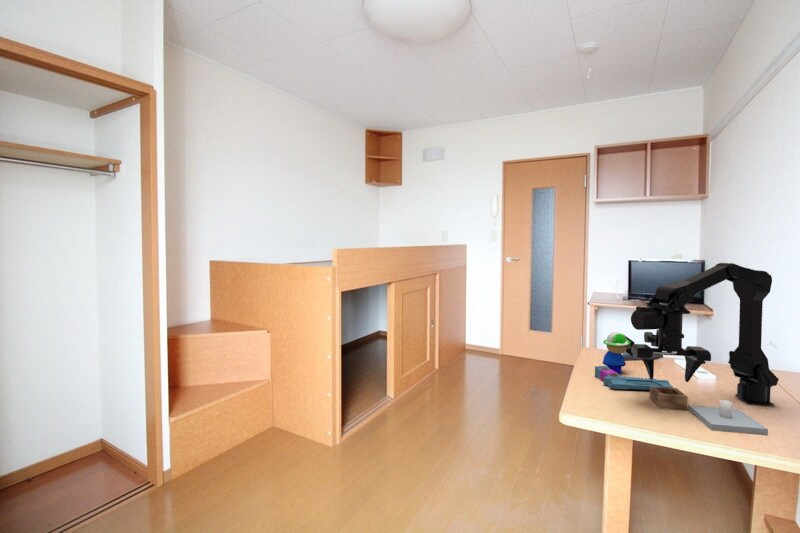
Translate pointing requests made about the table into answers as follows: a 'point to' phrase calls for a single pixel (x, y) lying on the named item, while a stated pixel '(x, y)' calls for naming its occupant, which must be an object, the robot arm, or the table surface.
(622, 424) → the table surface
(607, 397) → the table surface
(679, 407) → the collar
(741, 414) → the peg base
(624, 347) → the toy
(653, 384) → the toy gun
